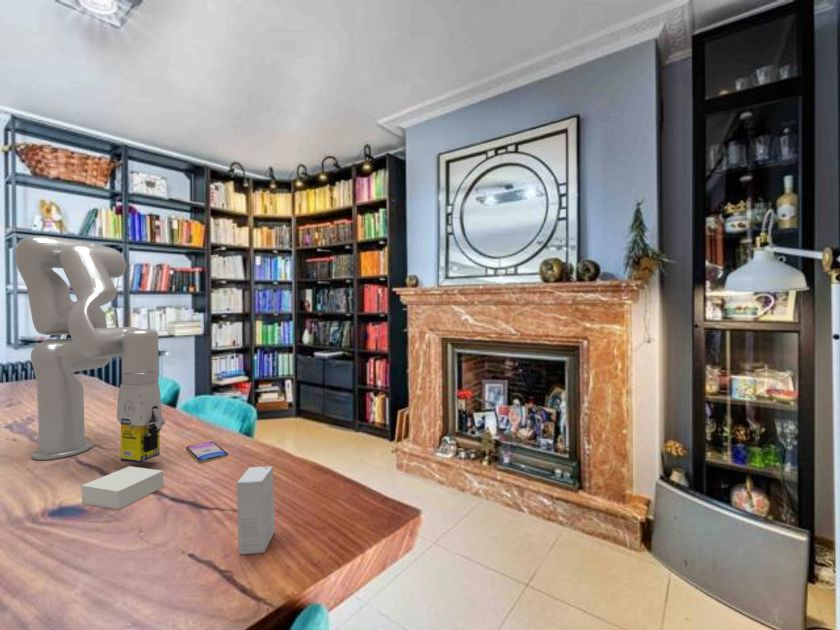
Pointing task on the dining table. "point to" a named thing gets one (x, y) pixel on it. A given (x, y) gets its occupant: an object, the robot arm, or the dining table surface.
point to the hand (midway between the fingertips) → (140, 447)
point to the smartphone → (206, 452)
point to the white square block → (122, 487)
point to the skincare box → (255, 510)
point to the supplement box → (135, 443)
